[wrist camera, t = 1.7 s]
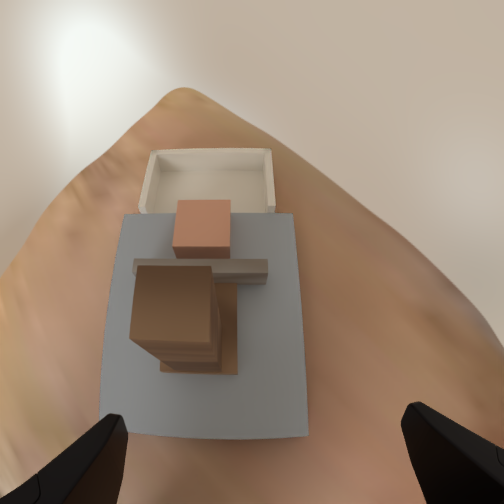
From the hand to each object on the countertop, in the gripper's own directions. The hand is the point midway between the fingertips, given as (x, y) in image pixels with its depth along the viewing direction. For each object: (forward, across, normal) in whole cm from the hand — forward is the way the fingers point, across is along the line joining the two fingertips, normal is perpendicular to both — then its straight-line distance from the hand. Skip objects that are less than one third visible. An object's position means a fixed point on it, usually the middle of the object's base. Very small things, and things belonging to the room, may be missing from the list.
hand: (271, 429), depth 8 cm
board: (+15, +3, +4) cm, 16 cm away
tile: (+18, +3, -1) cm, 18 cm away
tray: (+23, +3, -4) cm, 23 cm away
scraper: (+13, +3, +3) cm, 14 cm away
